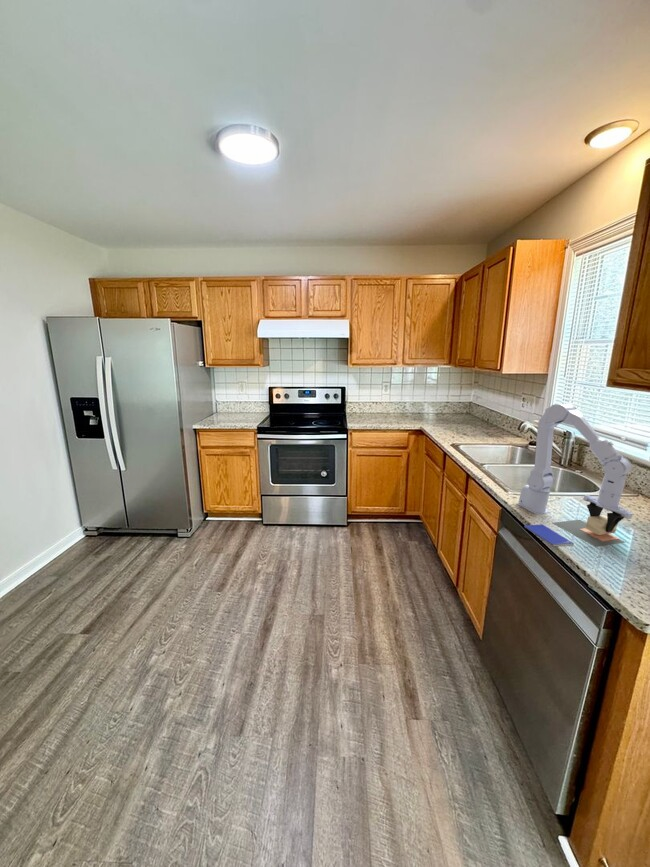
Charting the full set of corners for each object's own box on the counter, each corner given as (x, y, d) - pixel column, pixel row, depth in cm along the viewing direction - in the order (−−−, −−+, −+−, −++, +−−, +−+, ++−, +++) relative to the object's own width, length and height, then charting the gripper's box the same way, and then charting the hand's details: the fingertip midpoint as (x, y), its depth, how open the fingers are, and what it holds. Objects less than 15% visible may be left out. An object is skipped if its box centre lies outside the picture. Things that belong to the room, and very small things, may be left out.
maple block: (601, 526, 120) (604, 515, 119) (615, 532, 116) (618, 521, 115) (585, 528, 118) (588, 516, 117) (598, 534, 114) (601, 523, 113)
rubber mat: (551, 523, 124) (551, 522, 124) (579, 520, 128) (579, 519, 128) (595, 547, 109) (595, 546, 109) (625, 543, 113) (625, 542, 113)
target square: (579, 529, 120) (579, 528, 120) (595, 527, 122) (595, 527, 122) (602, 541, 112) (602, 540, 112) (619, 539, 115) (619, 538, 115)
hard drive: (574, 542, 109) (543, 524, 121) (553, 544, 108) (524, 525, 120) (573, 547, 110) (542, 528, 122) (552, 548, 108) (523, 529, 120)
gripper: (581, 484, 119) (572, 518, 122) (625, 502, 106) (614, 540, 109) (595, 483, 121) (586, 517, 124) (641, 500, 108) (630, 537, 111)
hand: (600, 527), depth 117 cm, fingers closed on maple block, 4 cm apart
